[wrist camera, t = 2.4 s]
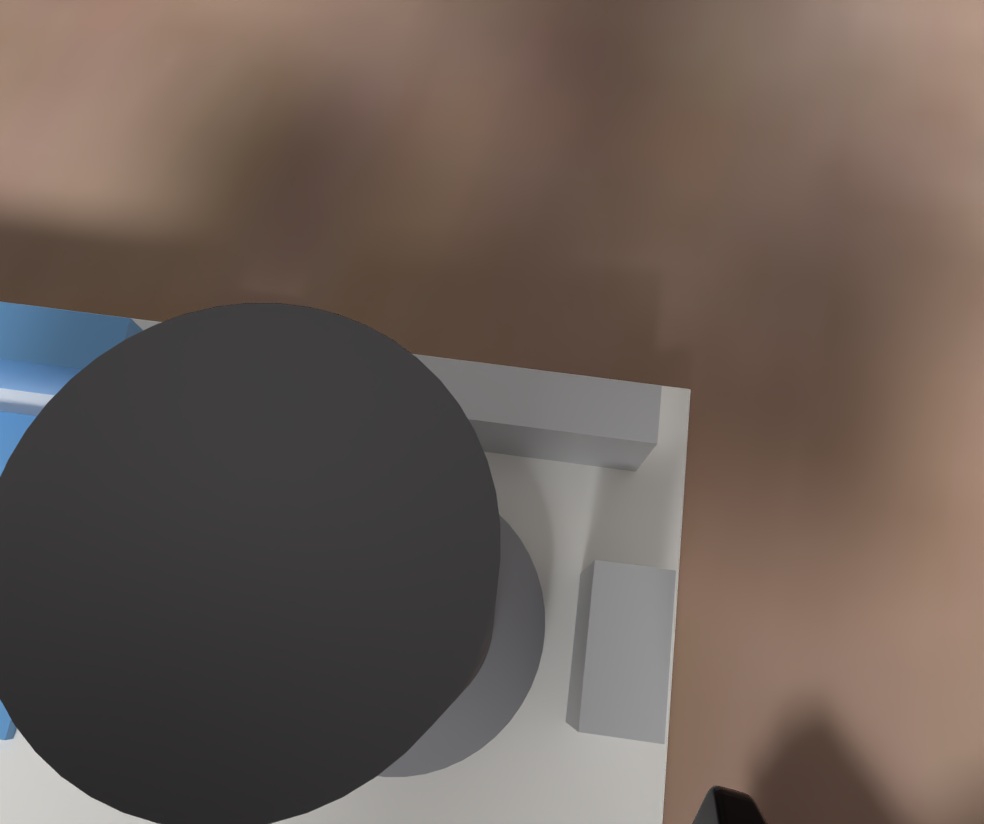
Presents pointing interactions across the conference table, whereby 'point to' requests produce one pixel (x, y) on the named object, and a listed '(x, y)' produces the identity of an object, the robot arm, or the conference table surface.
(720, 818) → the robot arm
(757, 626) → the conference table surface
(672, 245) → the conference table surface
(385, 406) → the grey cylinder on disc
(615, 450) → the white board with blocks
